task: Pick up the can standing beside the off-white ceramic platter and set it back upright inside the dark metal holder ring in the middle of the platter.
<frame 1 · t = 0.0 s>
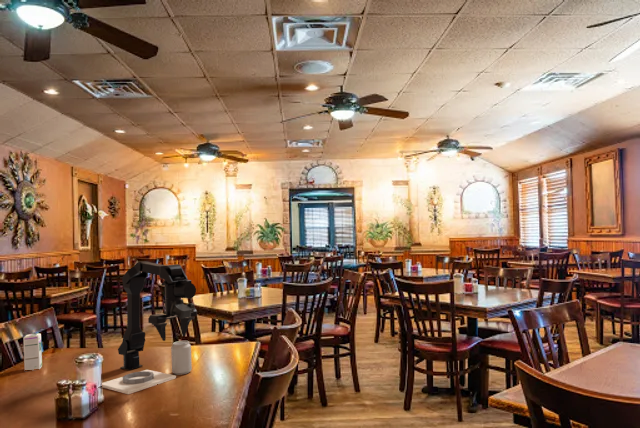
hand: (174, 338, 182), 15 cm above the table, fingers open, 9 cm apart
can: (181, 373, 187), on the table
platter: (138, 382, 177), on the table
syrup box: (33, 369, 202), on the table
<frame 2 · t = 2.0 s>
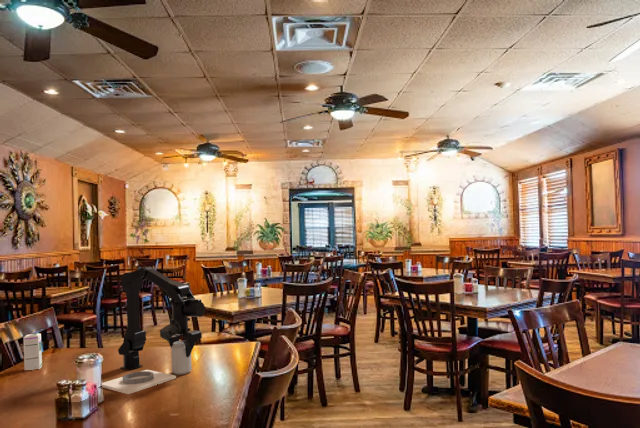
hand: (181, 355, 187), 7 cm above the table, fingers closed on can, 7 cm apart
can: (181, 373, 187), on the table, touching gripper
everything else where it was.
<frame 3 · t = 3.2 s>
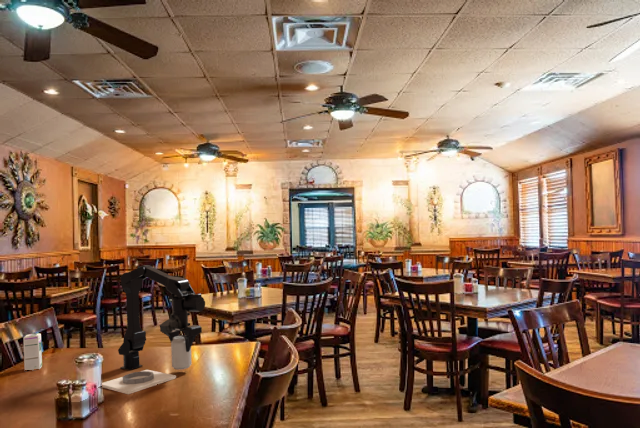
hand: (181, 350, 187), 9 cm above the table, fingers closed on can, 7 cm apart
can: (181, 368, 187), point 2 cm above the table, touching gripper
everything else where it was.
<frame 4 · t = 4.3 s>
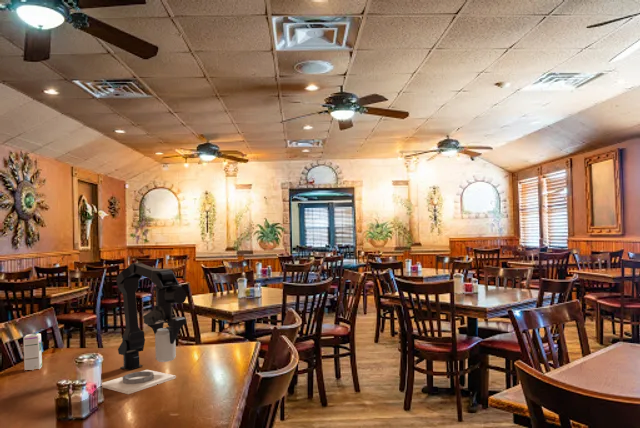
hand: (165, 342, 184), 13 cm above the table, fingers closed on can, 7 cm apart
can: (165, 360, 183), point 6 cm above the table, touching gripper
everything else where it was.
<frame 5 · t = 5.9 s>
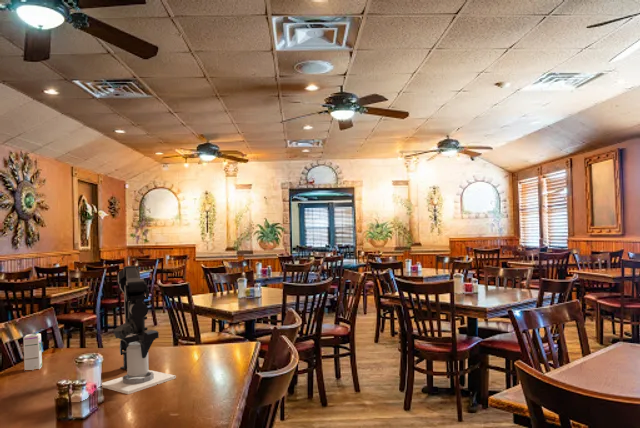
hand: (137, 356, 177), 9 cm above the table, fingers closed on can, 7 cm apart
can: (138, 375, 177), point 2 cm above the table, touching gripper
everything else where it was.
when the fingers open (9 cm above the table, at t = 6.9 s): can drops 1 cm, resting on platter.
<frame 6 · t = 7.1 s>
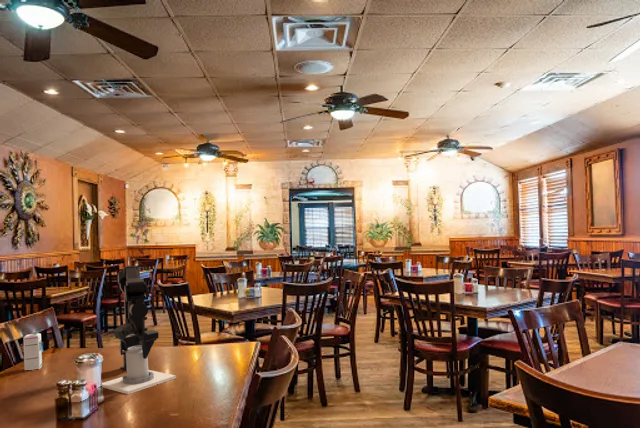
hand: (137, 357, 177), 9 cm above the table, fingers open, 9 cm apart
can: (138, 379, 177), point 1 cm above the table, touching platter
everything else where it was.
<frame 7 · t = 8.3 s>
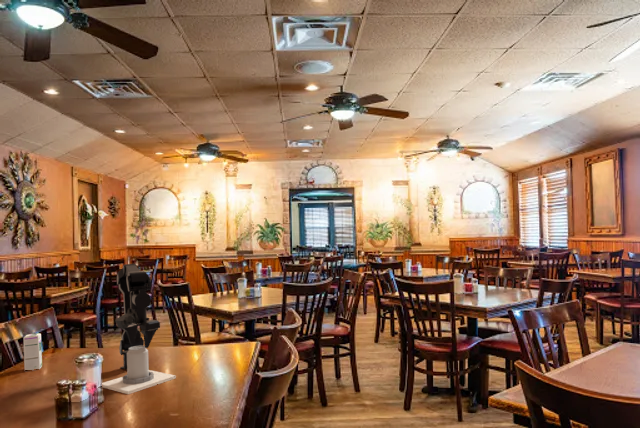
hand: (139, 346, 180), 13 cm above the table, fingers open, 9 cm apart
can: (138, 380, 177), point 1 cm above the table, touching gripper, platter
everything else where it was.
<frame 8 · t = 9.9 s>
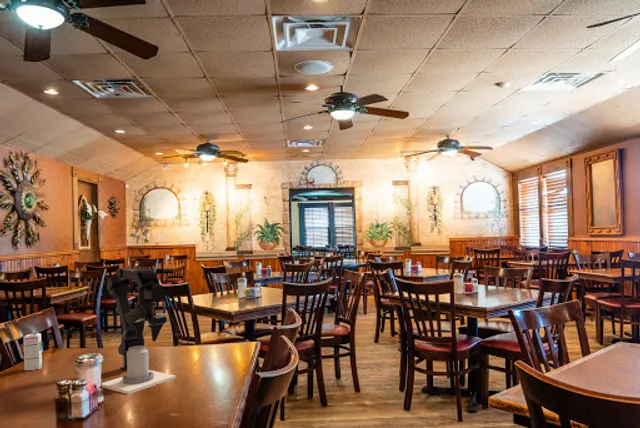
hand: (146, 340, 188), 13 cm above the table, fingers open, 9 cm apart
can: (138, 380, 177), point 1 cm above the table, touching platter
everything else where it was.
at the end: can 0.1 cm off-centre on the platter, point 0.8 cm above the platter's base; can tilted 0°; the gripper is holding nothing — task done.
